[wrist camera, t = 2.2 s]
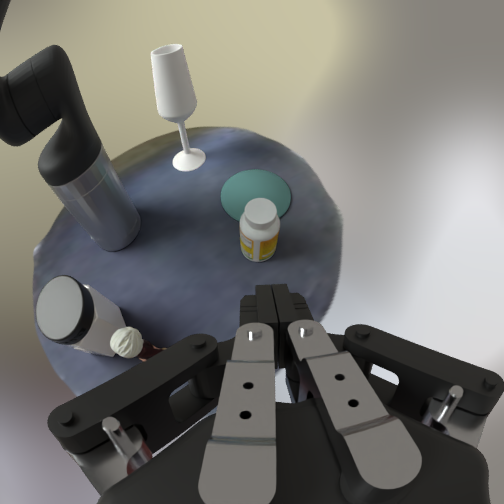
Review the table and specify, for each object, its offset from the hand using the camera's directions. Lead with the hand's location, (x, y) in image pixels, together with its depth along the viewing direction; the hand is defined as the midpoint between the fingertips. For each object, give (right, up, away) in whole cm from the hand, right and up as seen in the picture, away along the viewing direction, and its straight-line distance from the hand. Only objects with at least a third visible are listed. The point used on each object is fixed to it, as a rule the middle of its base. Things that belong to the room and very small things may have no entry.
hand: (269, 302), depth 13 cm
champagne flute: (-13, +21, +38) cm, 45 cm away
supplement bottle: (0, +3, +29) cm, 29 cm away
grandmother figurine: (-14, -12, +21) cm, 28 cm away
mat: (0, +12, +33) cm, 36 cm away
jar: (-23, -9, +23) cm, 34 cm away
